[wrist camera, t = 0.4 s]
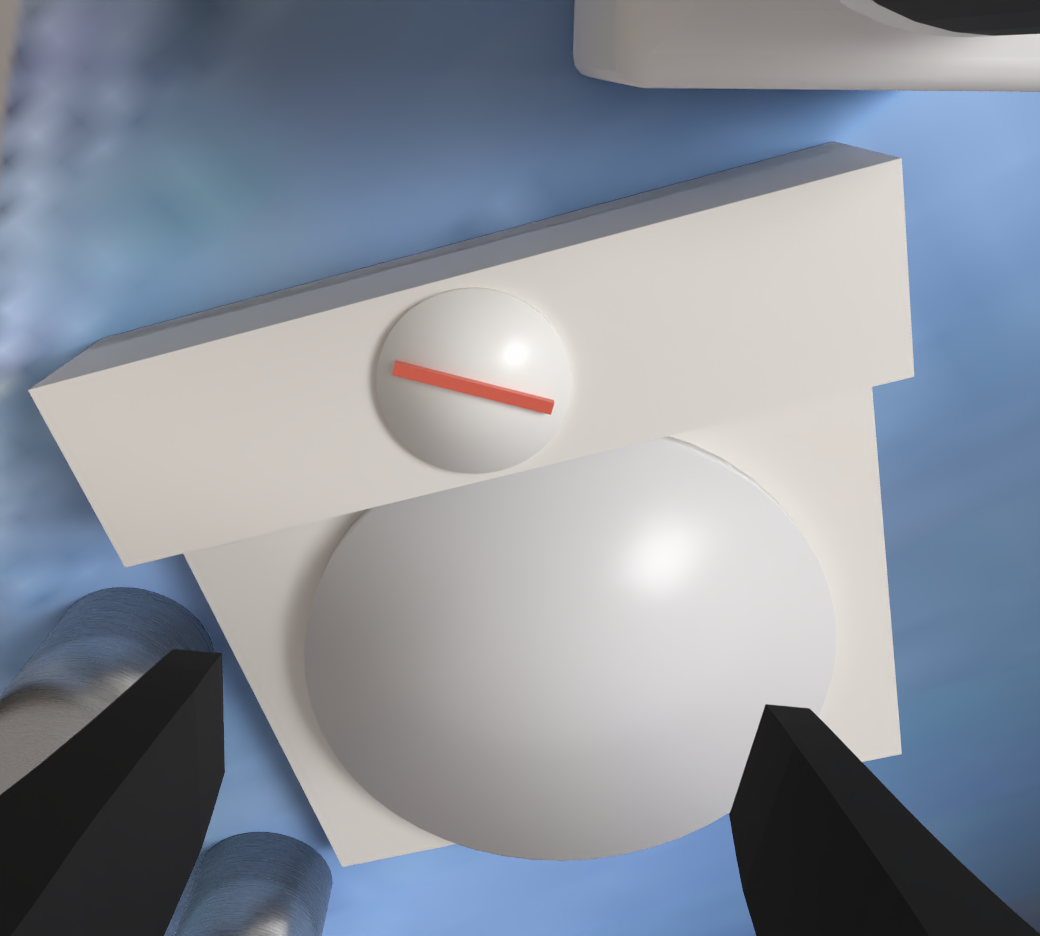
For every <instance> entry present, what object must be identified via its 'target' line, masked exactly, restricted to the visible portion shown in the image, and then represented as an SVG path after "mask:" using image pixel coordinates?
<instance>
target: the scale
mask: <svg viewBox="0 0 1040 936" xmlns="http://www.w3.org/2000/svg"><path fill="white" fill-rule="evenodd" d="M910 377H914V365H913V347H912V330H911V313H910V295H909V278H908V260H907V243H906V225H905V208H904V191H903V173H902V158H900V157H896V156H891V155H887V154H883V153H879V152H875V151H871V150H867V149H863V148H859V147H855V146H851V145H847V144H843V143H838V142H834V141H833V142H830V143H826V144H822V145H819V146H815V147H811V148H807V149H804V150H800V151H796V152H793V153H789V154H785V155H781V156H778V157H774V158H770V159H767V160H763V161H759V162H755V163H752V164H748V165H744V166H741V167H737V168H733V169H729V170H726V171H722V172H718V173H715V174H711V175H707V176H703V177H700V178H696V179H692V180H689V181H685V182H681V183H677V184H674V185H670V186H666V187H663V188H659V189H655V190H651V191H648V192H644V193H640V194H637V195H633V196H629V197H625V198H622V199H618V200H614V201H611V202H607V203H603V204H599V205H596V206H592V207H588V208H585V209H581V210H577V211H573V212H570V213H566V214H562V215H559V216H555V217H551V218H548V219H544V220H540V221H536V222H533V223H529V224H525V225H522V226H518V227H514V228H510V229H507V230H503V231H499V232H496V233H492V234H488V235H484V236H481V237H477V238H473V239H470V240H466V241H462V242H458V243H455V244H451V245H447V246H444V247H440V248H436V249H432V250H429V251H425V252H421V253H418V254H414V255H410V256H406V257H403V258H399V259H395V260H392V261H388V262H384V263H380V264H377V265H373V266H369V267H366V268H362V269H358V270H354V271H351V272H347V273H343V274H340V275H336V276H332V277H328V278H325V279H321V280H317V281H314V282H310V283H306V284H302V285H299V286H295V287H291V288H288V289H284V290H280V291H277V292H273V293H269V294H265V295H262V296H258V297H254V298H251V299H247V300H243V301H239V302H236V303H232V304H228V305H225V306H221V307H217V308H213V309H210V310H206V311H202V312H199V313H195V314H191V315H187V316H184V317H180V318H176V319H173V320H169V321H165V322H161V323H158V324H154V325H150V326H147V327H143V328H139V329H135V330H132V331H128V332H124V333H121V334H117V335H113V336H109V337H106V338H102V339H100V340H99V341H97V342H96V343H95V344H93V345H92V346H90V347H89V348H87V349H86V350H85V351H83V352H82V353H80V354H79V355H77V356H76V357H75V358H73V359H72V360H70V361H69V362H67V363H66V364H65V365H63V366H62V367H60V368H59V369H57V370H56V371H55V372H53V373H52V374H50V375H49V376H47V377H46V378H45V379H43V380H42V381H40V382H39V383H37V384H36V385H35V386H33V387H32V388H30V389H29V390H28V391H29V393H30V395H31V397H32V398H33V400H34V402H35V404H36V406H37V408H38V409H39V411H40V413H41V415H42V417H43V419H44V420H45V422H46V424H47V426H48V428H49V429H50V431H51V433H52V435H53V437H54V439H55V440H56V442H57V444H58V446H59V448H60V450H61V451H62V453H63V455H64V457H65V459H66V460H67V462H68V464H69V466H70V468H71V470H72V471H73V473H74V475H75V477H76V479H77V481H78V482H79V484H80V486H81V488H82V490H83V491H84V493H85V495H86V497H87V499H88V501H89V502H90V504H91V506H92V508H93V510H94V512H95V513H96V515H97V517H98V519H99V521H100V522H101V524H102V526H103V528H104V530H105V532H106V533H107V535H108V537H109V539H110V541H111V543H112V544H113V546H114V548H115V550H116V552H117V553H118V555H119V557H120V559H121V561H122V563H123V564H124V566H125V567H130V566H134V565H138V564H142V563H146V562H150V561H154V560H158V559H163V558H167V557H171V556H175V555H179V554H184V556H185V558H186V560H187V562H188V564H189V566H190V568H191V570H192V572H193V574H194V576H195V578H196V580H197V582H198V584H199V586H200V588H201V590H202V592H203V594H204V596H205V598H206V600H207V602H208V604H209V605H210V607H211V609H212V611H213V613H214V615H215V617H216V619H217V621H218V623H219V625H220V627H221V629H222V631H223V633H224V635H225V637H226V639H227V641H228V643H229V645H230V647H231V649H232V651H233V653H234V655H235V657H236V659H237V661H238V663H239V664H240V666H241V668H242V670H243V672H244V674H245V676H246V678H247V680H248V682H249V684H250V686H251V688H252V690H253V692H254V694H255V696H256V698H257V700H258V702H259V704H260V706H261V708H262V710H263V712H264V714H265V716H266V718H267V720H268V721H269V723H270V725H271V727H272V729H273V731H274V733H275V735H276V737H277V739H278V741H279V743H280V745H281V747H282V749H283V751H284V753H285V755H286V757H287V759H288V761H289V763H290V765H291V767H292V769H293V771H294V773H295V775H296V777H297V779H298V780H299V782H300V784H301V786H302V788H303V790H304V792H305V794H306V796H307V798H308V800H309V802H310V804H311V806H312V808H313V810H314V812H315V814H316V816H317V818H318V820H319V822H320V824H321V826H322V828H323V830H324V832H325V834H326V836H327V838H328V839H329V841H330V843H331V845H332V847H333V849H334V851H335V853H336V855H337V857H338V859H339V861H340V863H341V865H342V867H345V866H350V865H355V864H360V863H365V862H370V861H375V860H379V859H384V858H389V857H394V856H399V855H404V854H409V853H414V852H419V851H424V850H429V849H434V848H439V847H444V846H449V845H454V844H459V845H462V846H465V847H468V848H471V849H475V850H479V851H483V852H488V853H492V854H497V855H501V856H508V857H516V858H524V859H531V860H558V861H566V860H583V859H596V858H603V857H609V856H616V855H623V854H627V853H631V852H635V851H639V850H643V849H647V848H651V847H655V846H658V845H661V844H663V843H666V842H669V841H672V840H675V839H678V838H681V837H683V836H685V835H687V834H690V833H692V832H694V831H696V830H698V829H700V828H703V827H705V826H707V825H709V824H711V823H712V822H714V821H716V820H718V819H719V818H721V817H723V816H724V815H726V814H728V813H729V812H730V811H731V808H732V805H733V802H734V799H735V796H736V793H737V790H738V787H739V784H740V781H741V778H742V775H743V771H744V768H745V765H746V762H747V759H748V756H749V753H750V750H751V747H752V744H753V741H754V738H755V735H756V732H757V729H758V726H759V723H760V720H761V717H762V714H763V711H764V708H765V704H769V705H779V706H790V707H801V708H810V709H811V710H812V711H813V712H814V713H815V714H816V715H817V716H818V717H819V718H820V719H821V720H822V721H823V722H824V723H825V724H826V725H827V726H828V727H829V728H830V729H831V730H832V731H833V732H834V733H835V734H836V735H837V736H838V738H839V739H840V740H841V741H842V742H843V743H844V744H845V745H846V746H847V747H848V748H849V749H850V750H851V751H852V752H853V753H854V754H855V755H856V756H857V758H858V759H859V760H860V761H861V762H864V761H869V760H874V759H879V758H884V757H889V756H894V755H899V754H902V752H901V739H900V727H899V714H898V702H897V690H896V677H895V665H894V653H893V640H892V628H891V616H890V603H889V591H888V579H887V566H886V554H885V542H884V529H883V517H882V505H881V492H880V480H879V468H878V455H877V443H876V431H875V418H874V406H873V394H872V387H873V386H877V385H881V384H885V383H890V382H894V381H898V380H902V379H906V378H910Z"/></svg>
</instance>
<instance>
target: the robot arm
mask: <svg viewBox="0 0 1040 936" xmlns="http://www.w3.org/2000/svg"><path fill="white" fill-rule="evenodd" d="M224 773H225V768H224V722H223V676H222V653H212V652H201V651H191V650H180V649H173V650H172V651H170V652H169V653H168V654H166V655H165V656H164V657H163V658H162V659H160V660H159V661H158V662H157V663H156V664H155V665H154V666H153V667H151V668H150V669H149V670H148V671H147V672H146V673H145V674H144V675H142V676H141V677H140V678H139V679H138V680H137V681H136V682H135V683H134V684H132V685H131V686H130V687H129V688H128V689H127V690H126V691H125V692H124V693H122V694H121V695H120V696H119V697H118V698H117V699H116V700H115V701H113V702H112V703H111V704H110V705H109V706H108V707H107V708H105V709H104V710H103V711H102V712H101V713H100V714H99V715H97V716H96V717H95V718H94V719H93V720H92V721H91V722H89V723H88V724H87V725H86V726H85V727H83V728H82V729H81V730H80V731H79V732H77V733H76V734H75V735H74V736H73V737H71V738H70V739H69V740H68V741H67V742H66V743H64V744H63V745H62V746H61V747H60V748H58V749H57V750H56V751H55V752H54V753H52V754H51V755H50V756H49V757H48V758H46V759H45V760H44V761H43V762H42V763H40V764H39V765H38V766H37V767H35V768H34V769H33V770H32V771H30V772H29V773H28V774H27V775H25V776H24V777H23V778H21V779H20V780H19V781H17V782H16V783H15V784H14V785H12V786H11V787H10V788H8V789H7V790H6V791H4V792H3V793H2V794H1V795H0V936H164V934H165V932H166V930H167V927H168V925H169V923H170V920H171V918H172V916H173V914H174V911H175V909H176V907H177V904H178V902H179V900H180V897H181V895H182V893H183V890H184V888H185V886H186V883H187V881H188V879H189V877H190V874H191V872H192V870H193V867H194V865H195V862H196V860H197V858H198V855H199V853H200V851H201V848H202V845H203V842H204V839H205V835H206V832H207V829H208V826H209V823H210V820H211V816H212V813H213V810H214V806H215V803H216V800H217V796H218V793H219V790H220V786H221V783H222V779H223V776H224ZM729 815H730V821H731V827H732V833H733V839H734V845H735V851H736V857H737V862H738V867H739V873H740V878H741V883H742V888H743V892H744V896H745V899H746V902H747V906H748V909H749V913H750V916H751V919H752V922H753V926H754V929H755V932H756V936H1040V934H1039V933H1038V932H1037V931H1036V930H1035V929H1033V928H1032V927H1031V926H1030V925H1029V924H1028V923H1027V922H1025V921H1024V920H1023V919H1022V918H1021V917H1020V916H1019V915H1017V914H1016V913H1015V912H1014V911H1013V910H1012V909H1011V908H1009V907H1008V906H1007V905H1006V904H1005V903H1004V902H1003V901H1002V900H1001V899H1000V898H999V897H998V896H996V895H995V894H994V893H993V892H992V891H991V890H990V889H989V888H988V887H987V886H986V885H985V884H983V883H982V882H981V881H980V880H979V879H978V878H977V877H976V876H975V875H974V874H973V873H972V872H971V871H969V870H968V869H967V868H966V867H965V866H964V865H963V864H962V863H961V862H960V861H959V860H958V859H957V858H956V857H955V856H954V855H953V854H952V853H951V852H950V851H949V850H947V849H946V848H945V847H944V846H943V845H942V844H941V843H940V842H939V841H938V840H937V839H936V838H935V837H934V836H933V835H932V834H931V833H930V832H929V831H928V830H927V829H926V828H925V827H924V826H923V825H922V824H921V823H920V822H919V821H918V820H917V819H916V818H915V817H914V816H913V815H912V814H911V813H910V812H909V811H908V810H907V809H906V808H905V807H904V806H903V805H902V803H901V802H900V801H899V800H898V799H897V798H896V797H895V796H894V795H893V794H892V793H891V792H890V791H889V790H888V789H887V788H886V787H885V786H884V785H883V784H882V783H881V782H880V781H879V780H878V779H877V777H876V776H875V775H874V774H873V773H872V772H871V771H870V770H869V769H868V768H867V767H866V766H865V765H864V764H863V763H862V762H861V761H860V760H859V759H858V758H857V756H856V755H855V754H854V753H853V752H852V751H851V750H850V749H849V748H848V747H847V746H846V745H845V744H844V743H843V742H842V741H841V740H840V739H839V738H838V736H837V735H836V734H835V733H834V732H833V731H832V730H831V729H830V728H829V727H828V726H827V725H826V724H825V723H824V722H823V721H822V720H821V719H820V718H819V717H818V716H817V715H816V714H815V713H814V712H813V711H812V710H811V709H810V708H801V707H790V706H779V705H769V704H765V708H764V711H763V714H762V717H761V720H760V723H759V726H758V729H757V732H756V735H755V738H754V741H753V744H752V747H751V750H750V753H749V756H748V759H747V762H746V765H745V768H744V771H743V775H742V778H741V781H740V784H739V787H738V790H737V793H736V796H735V799H734V802H733V805H732V808H731V811H730V814H729Z"/></svg>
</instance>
